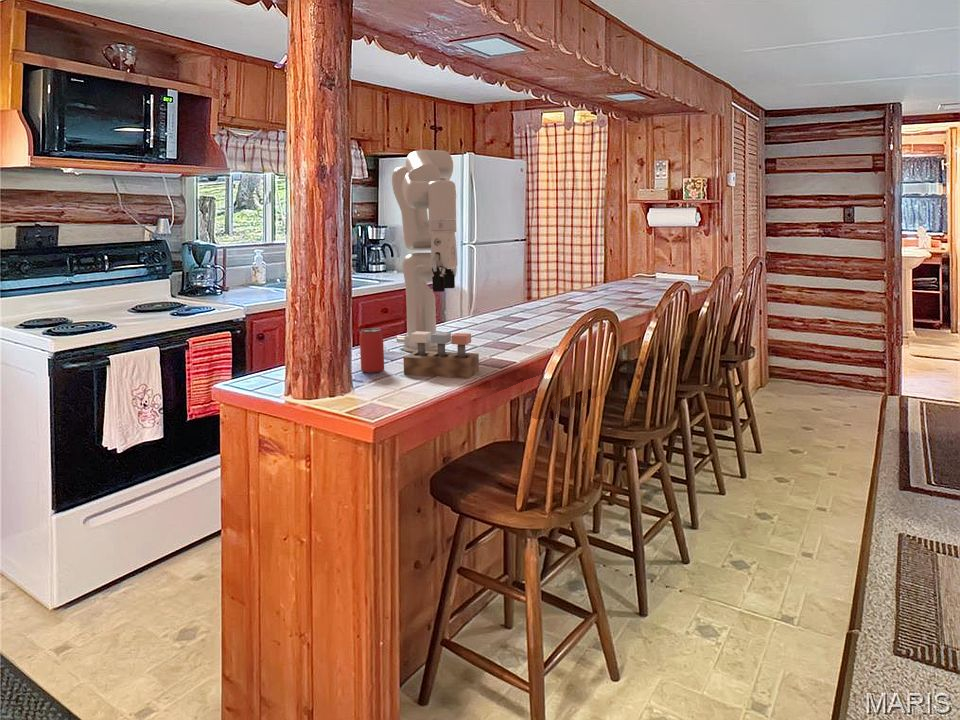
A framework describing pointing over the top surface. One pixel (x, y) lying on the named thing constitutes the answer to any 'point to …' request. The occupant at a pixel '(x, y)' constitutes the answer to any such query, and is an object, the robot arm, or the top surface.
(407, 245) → the robot arm
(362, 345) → the beer can
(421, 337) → the white key
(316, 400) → the top surface
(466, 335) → the brick-red key
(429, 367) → the walnut console
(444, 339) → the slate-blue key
